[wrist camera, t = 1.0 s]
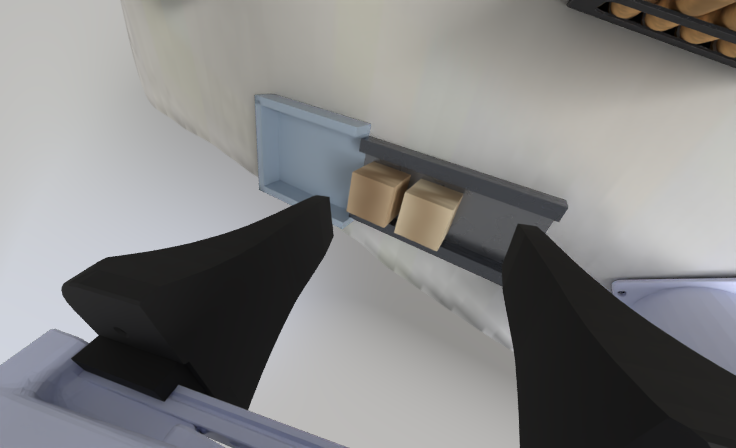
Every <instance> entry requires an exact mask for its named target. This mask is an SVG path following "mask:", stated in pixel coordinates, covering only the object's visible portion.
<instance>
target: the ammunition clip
mask: <svg viewBox="0 0 736 448" xmlns="http://www.w3.org/2000/svg"><path fill="white" fill-rule="evenodd" d="M567 6H568V7H570V8H573V9H575V10H578V11H581V12H584V13H586V14H589V15H592V16H595V17H597V18H600V19H603V20H605V21H608V22H611V23H614V24H616V25H619V26H622V27H625V28H627V29H630V30H633V31H636V32H638V33H641V34H644V35H647V36H649V37H652V38H655V39H657V40H660V41H663V42H666V43H668V44H671V45H674V46H677V47H679V48H682V49H685V50H688V51H690V52H693V53H696V54H699V55H701V56H704V57H707V58H709V59H712V60H715V61H718V62H720V63H723V64H726V65H729V66H731V67H734V68H736V0H569V2H568V3H567Z"/></svg>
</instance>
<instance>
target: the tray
mask: <svg viewBox="0 0 736 448" xmlns="http://www.w3.org/2000/svg"><path fill="white" fill-rule="evenodd" d="M255 112H256V133H257V154H258V174H259V190H261V191H263V192H265V193H267V194H269V195H271V196H273V197H276V198H278V199H280V200H282V201H284V202H286V203H288V204H290V205H294V204H297V203H299V202H301V201H303V200H305V199H307V198H310V197H312V196H315V195H320V196H327V197H330V206H331V216H332V224H333V225H335V226H337V227H339V228H341V229H343V228H344V227H346V226H347V225H348V224H349V223H351V222H352V221H353V220H355V219H352V218H350V217H349V212H347V205H348V198H349V191H350V185H351V178H352V172H353V171H355V170H357V169H359V168H361V167H363V166H364V161H365V155H366V154H365V153H362V152H359V148H360V141H361V138H364V137H367V136H369V133H370V127H371V124H370V123H366V122H363V121H360V120H357V119H353V118H350V117H347V116H344V115H341V114H337V113H334V112H331V111H328V110H324V109H321V108H318V107H315V106H312V105H308V104H305V103H302V102H299V101H295V100H292V99H289V98H286V97H283V96H279V95H276V94H257V95H255Z"/></svg>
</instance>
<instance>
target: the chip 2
mask: <svg viewBox="0 0 736 448" xmlns="http://www.w3.org/2000/svg"><path fill="white" fill-rule="evenodd" d="M462 197H463V193H460V192H457V191H455V190H452V189H449V188H446V187H444V186H441V185H438V184H435V183H432V182H430V181H427V180H424V179H420V180H419V181H418V182H416V183H415V184H414V185H413V186H412V187H411V188H409V189H408V190H407V191H406V192H405V194H404V198H403V202H402V205H401V209H400V213H399V216H398V220H397V224H396V227H395V231H394V233H396V234H398V235H401V236H403V237H405V238H407V239H410V240H412V241H414V242H416V243H419V244H421V245H423V246H425V247H428V248H430V249H432V250H434V251H438V249H439V247H440V245H441V243H442V242H443V240H444V238H445V236H446V235H447V233H448V231H449V229H450V226H451V224H452V221H453V219H454V216H455V214H456V212H457V209H458V207H459V204H460V202H461V199H462Z"/></svg>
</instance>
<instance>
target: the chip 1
mask: <svg viewBox="0 0 736 448" xmlns="http://www.w3.org/2000/svg"><path fill="white" fill-rule="evenodd" d="M410 177H411V175H410V174H407V173H405V172H402V171H399V170H396V169H394V168H391V167H388V166H385V165H382V164H380V163H377V162H374V161H373V162H371V163H369V164H367V165H365V166H363V167H361V168H359V169H357V170H355V171H353V172H352V178H351V185H350V191H349V198H348V205H347V212H349V213H351V214H354V215H356V216H358V217H360V218H363V219H365V220H367V221H369V222H372V223H374V224H376V225H378V226H380V227H383V228H385V227H386V226H387V225H388V224H389V223H390V222H391V221H392V220H393V219H394V218H395V217H396V216H397V215H398V214H399V213H400V209H401V205H402V202H403V198H404V194H405V192H406V191H407V188H408V184H409V181H410Z"/></svg>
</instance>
